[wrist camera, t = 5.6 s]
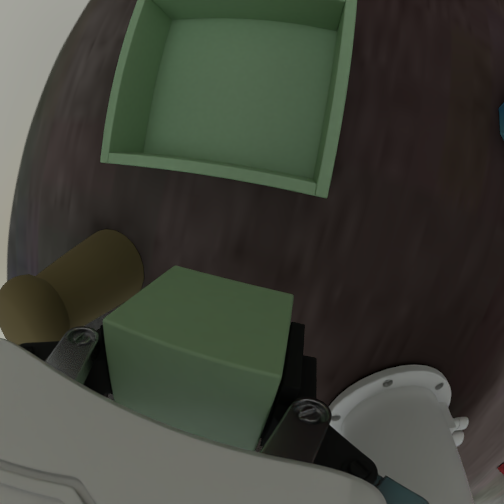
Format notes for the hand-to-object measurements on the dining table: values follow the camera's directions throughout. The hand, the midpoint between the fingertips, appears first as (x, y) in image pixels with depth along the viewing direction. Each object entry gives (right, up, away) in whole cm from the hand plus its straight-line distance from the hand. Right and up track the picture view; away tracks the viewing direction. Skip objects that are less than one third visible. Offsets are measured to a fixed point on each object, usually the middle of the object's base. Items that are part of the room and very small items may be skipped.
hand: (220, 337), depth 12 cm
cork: (-10, +3, +9) cm, 14 cm away
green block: (0, 0, 0) cm, 1 cm away
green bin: (0, +14, +4) cm, 14 cm away
